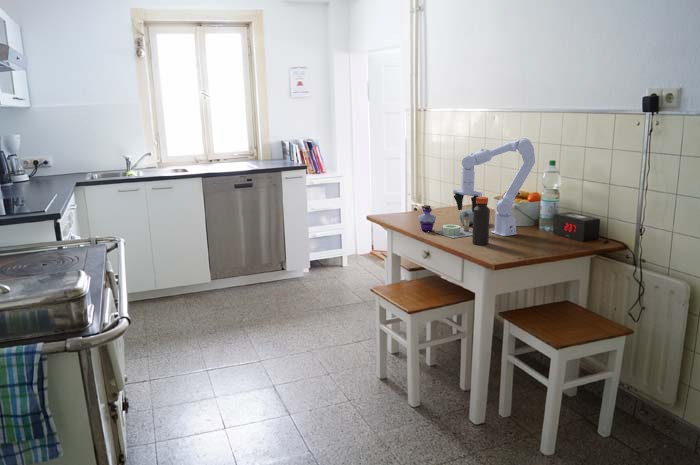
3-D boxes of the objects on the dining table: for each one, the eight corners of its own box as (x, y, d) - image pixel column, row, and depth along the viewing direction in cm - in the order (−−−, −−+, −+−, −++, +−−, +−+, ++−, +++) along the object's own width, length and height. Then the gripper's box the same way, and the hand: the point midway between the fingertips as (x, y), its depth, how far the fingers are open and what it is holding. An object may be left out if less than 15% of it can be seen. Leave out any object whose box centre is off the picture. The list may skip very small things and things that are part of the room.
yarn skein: (465, 221, 276) (465, 202, 278) (455, 226, 284) (455, 207, 287) (489, 226, 279) (490, 207, 282) (479, 231, 288) (480, 212, 291)
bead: (463, 233, 264) (463, 227, 263) (449, 235, 260) (449, 229, 259) (452, 230, 271) (453, 223, 270) (438, 232, 267) (438, 225, 267)
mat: (481, 234, 263) (481, 233, 263) (452, 238, 256) (452, 237, 256) (462, 228, 276) (462, 227, 275) (434, 232, 269) (434, 231, 269)
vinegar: (469, 242, 249) (470, 197, 245) (482, 240, 252) (484, 195, 247) (477, 246, 243) (479, 199, 238) (491, 244, 245) (493, 198, 241)
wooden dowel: (469, 231, 268) (470, 217, 266) (465, 232, 267) (466, 217, 265) (466, 230, 269) (467, 216, 268) (462, 231, 269) (463, 216, 267)
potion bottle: (430, 227, 278) (431, 203, 275) (439, 231, 270) (439, 206, 267) (414, 229, 275) (414, 204, 272) (422, 233, 267) (423, 207, 264)
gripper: (486, 182, 262) (485, 211, 265) (459, 179, 271) (458, 207, 275) (477, 184, 257) (476, 213, 260) (450, 181, 267) (450, 209, 270)
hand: (466, 210), depth 267 cm, fingers open, 7 cm apart
